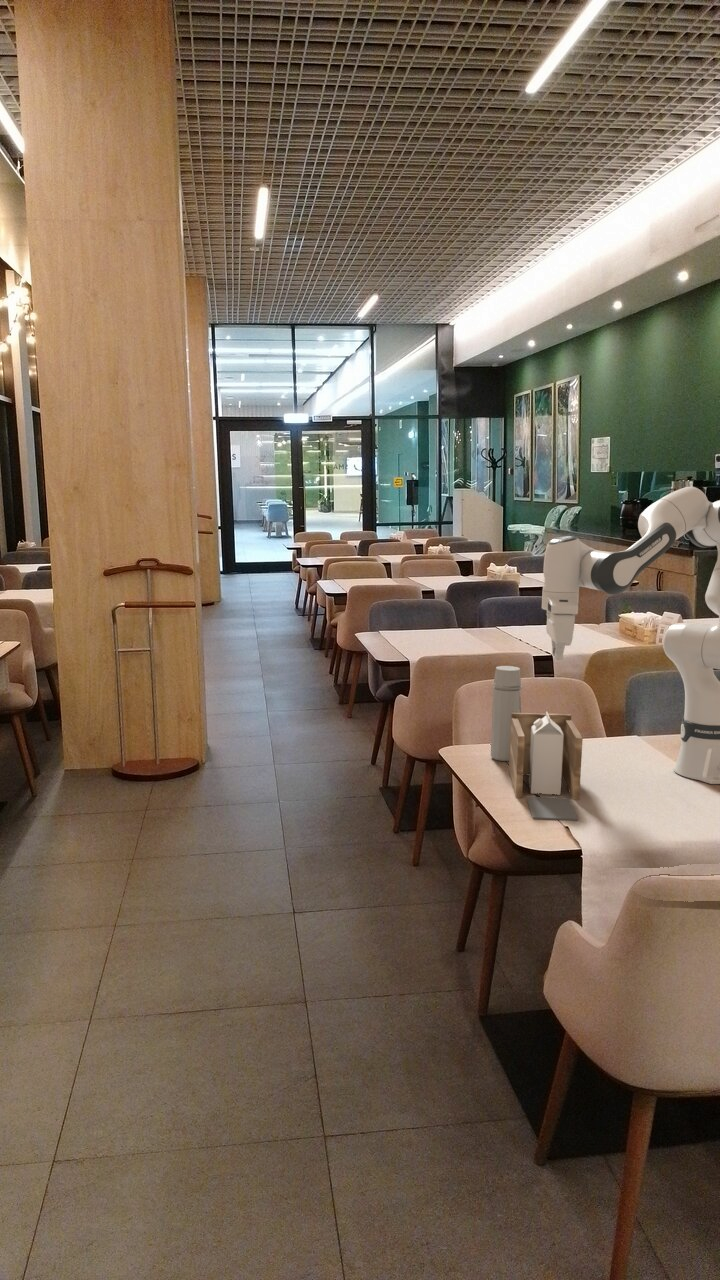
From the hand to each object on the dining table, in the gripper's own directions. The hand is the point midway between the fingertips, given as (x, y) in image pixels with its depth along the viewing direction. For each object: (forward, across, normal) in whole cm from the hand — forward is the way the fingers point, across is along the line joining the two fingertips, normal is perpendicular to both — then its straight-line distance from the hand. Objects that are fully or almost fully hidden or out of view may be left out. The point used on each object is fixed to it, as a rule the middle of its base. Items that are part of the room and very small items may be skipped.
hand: (557, 657), depth 238 cm
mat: (+31, +24, -3) cm, 39 cm away
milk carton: (+31, +11, -3) cm, 33 cm away
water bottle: (+31, -16, -10) cm, 37 cm away
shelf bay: (+31, +8, -3) cm, 32 cm away
